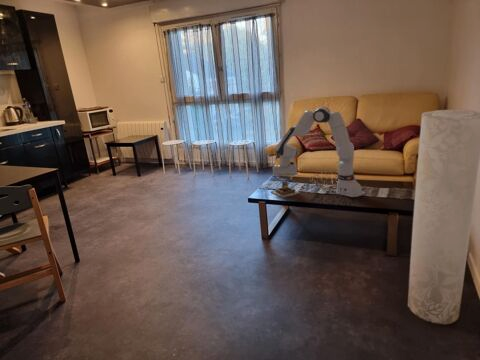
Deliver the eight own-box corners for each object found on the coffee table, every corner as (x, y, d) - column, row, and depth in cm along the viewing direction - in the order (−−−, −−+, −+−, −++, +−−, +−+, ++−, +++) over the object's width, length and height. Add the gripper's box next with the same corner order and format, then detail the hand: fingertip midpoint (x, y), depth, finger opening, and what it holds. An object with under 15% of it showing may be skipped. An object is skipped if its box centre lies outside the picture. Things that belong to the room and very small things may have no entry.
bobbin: (290, 191, 272) (290, 182, 270) (284, 193, 270) (283, 183, 267) (286, 190, 277) (285, 180, 275) (280, 191, 275) (279, 182, 273)
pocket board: (299, 193, 270) (299, 189, 269) (282, 198, 263) (282, 194, 262) (288, 188, 284) (287, 184, 284) (270, 192, 278) (270, 188, 277)
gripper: (272, 163, 279) (271, 178, 272) (297, 162, 275) (297, 177, 268) (272, 167, 284) (272, 182, 278) (297, 166, 280) (297, 181, 274)
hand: (285, 179), depth 273 cm, fingers open, 8 cm apart
